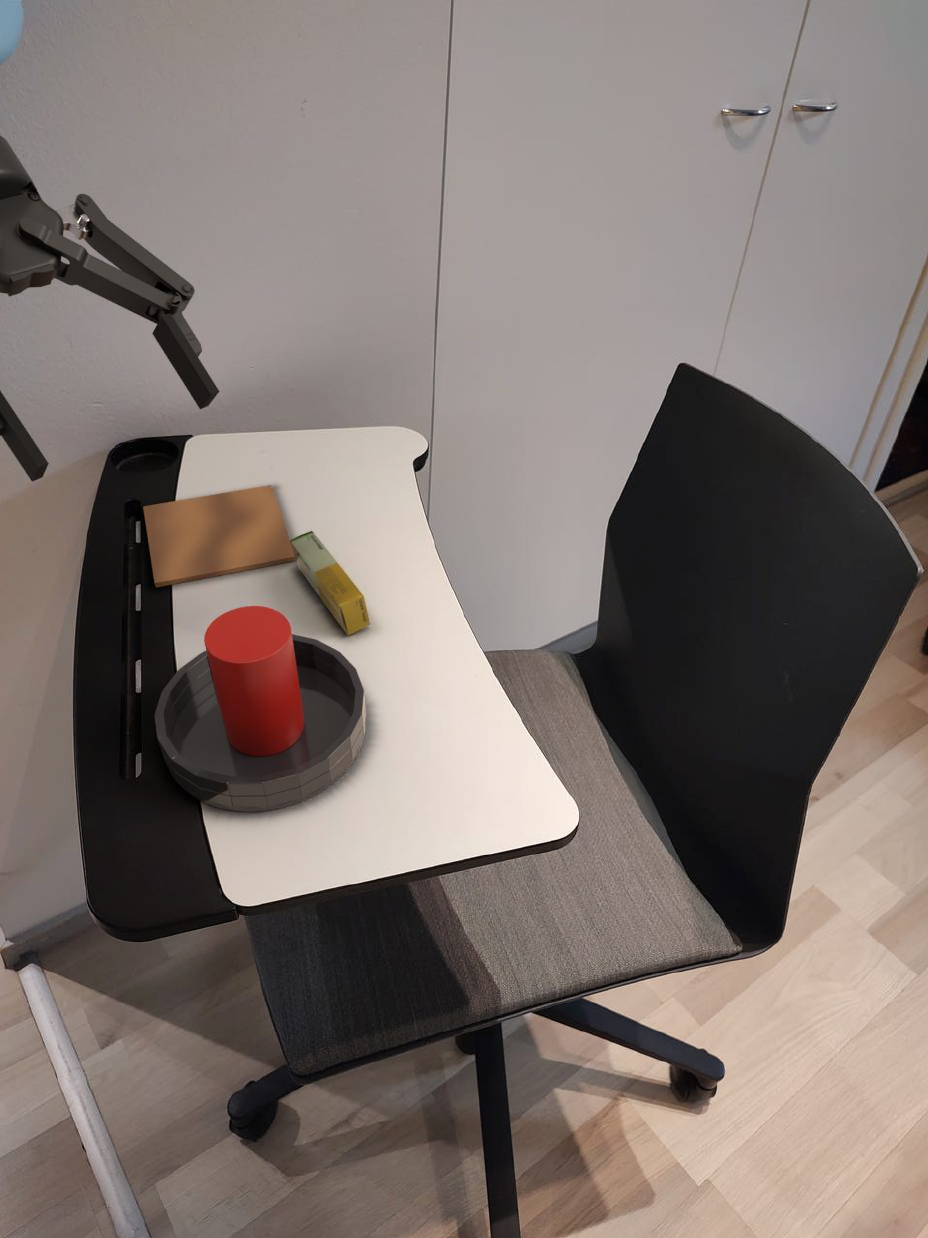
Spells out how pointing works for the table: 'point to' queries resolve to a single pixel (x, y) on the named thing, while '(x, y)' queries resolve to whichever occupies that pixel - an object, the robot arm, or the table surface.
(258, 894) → the table surface
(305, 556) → the medication box
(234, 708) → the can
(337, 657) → the pan
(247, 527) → the mat
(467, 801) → the table surface
